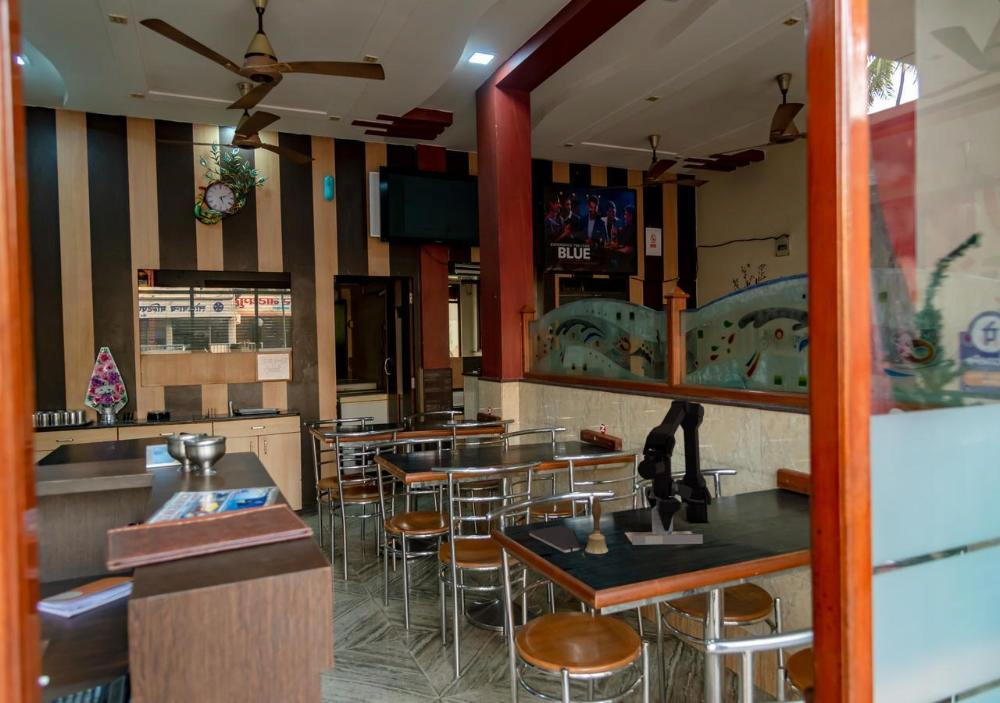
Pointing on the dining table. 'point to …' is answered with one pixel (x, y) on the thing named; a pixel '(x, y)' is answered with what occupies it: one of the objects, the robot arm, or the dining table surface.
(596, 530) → the hand bell
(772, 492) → the dining table surface
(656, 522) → the medicine box
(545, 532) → the notebook
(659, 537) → the rail
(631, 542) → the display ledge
